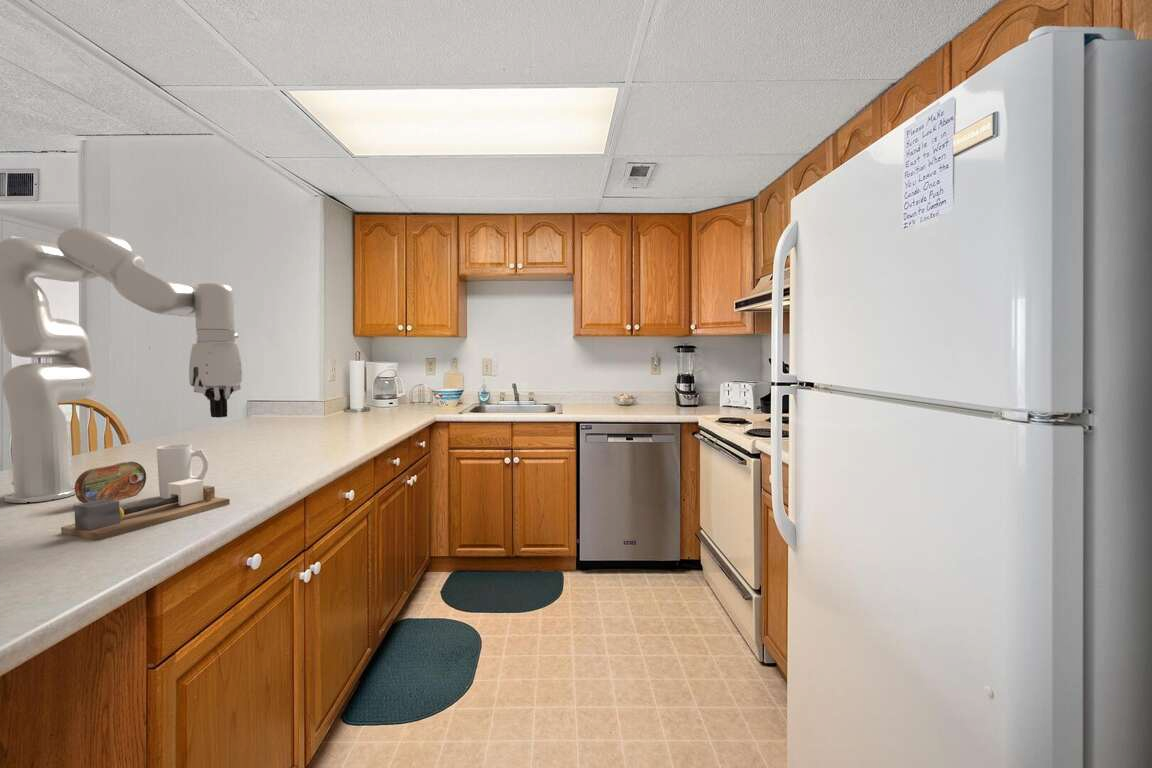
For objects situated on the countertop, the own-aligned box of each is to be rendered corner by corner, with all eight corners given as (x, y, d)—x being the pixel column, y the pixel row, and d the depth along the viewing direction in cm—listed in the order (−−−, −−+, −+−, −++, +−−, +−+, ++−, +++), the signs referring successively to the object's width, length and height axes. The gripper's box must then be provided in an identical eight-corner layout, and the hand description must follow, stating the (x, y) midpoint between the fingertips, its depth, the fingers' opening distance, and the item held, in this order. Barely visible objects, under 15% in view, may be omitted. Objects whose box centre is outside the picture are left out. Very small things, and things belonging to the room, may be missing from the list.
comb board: (61, 533, 105) (60, 504, 105) (195, 499, 130) (194, 475, 130) (99, 540, 102) (97, 510, 101) (229, 504, 126) (228, 479, 126)
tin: (84, 509, 121) (82, 471, 121) (72, 508, 122) (70, 471, 121) (148, 492, 136) (146, 458, 136) (137, 492, 137) (135, 458, 136)
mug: (155, 500, 129) (153, 449, 128) (161, 494, 134) (159, 445, 134) (207, 495, 133) (206, 446, 133) (210, 489, 139) (209, 442, 139)
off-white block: (168, 503, 121) (167, 483, 120) (190, 498, 125) (190, 478, 125) (181, 505, 119) (180, 485, 119) (203, 499, 124) (202, 480, 124)
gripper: (233, 338, 136) (236, 413, 137) (171, 337, 122) (175, 420, 123) (256, 338, 134) (259, 414, 135) (195, 336, 119) (199, 421, 121)
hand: (219, 416), depth 129 cm, fingers closed
